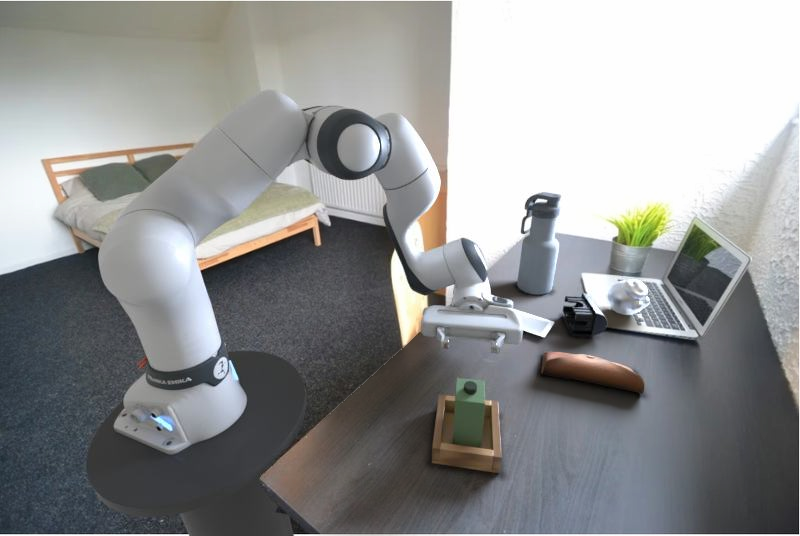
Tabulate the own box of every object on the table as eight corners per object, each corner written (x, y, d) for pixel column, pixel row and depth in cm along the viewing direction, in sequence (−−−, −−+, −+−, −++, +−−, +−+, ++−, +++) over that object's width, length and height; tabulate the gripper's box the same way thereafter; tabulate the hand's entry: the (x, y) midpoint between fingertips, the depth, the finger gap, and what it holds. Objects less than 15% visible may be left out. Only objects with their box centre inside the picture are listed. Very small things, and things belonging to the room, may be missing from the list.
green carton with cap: (452, 446, 61) (455, 395, 56) (454, 422, 66) (456, 372, 61) (480, 450, 60) (485, 398, 56) (480, 425, 65) (485, 376, 60)
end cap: (604, 339, 87) (610, 314, 84) (572, 337, 88) (577, 312, 85) (589, 315, 96) (595, 292, 93) (561, 314, 97) (565, 291, 94)
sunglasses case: (633, 367, 77) (644, 354, 72) (635, 400, 74) (647, 390, 68) (541, 351, 83) (545, 338, 77) (539, 381, 79) (542, 371, 74)
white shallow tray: (497, 307, 101) (498, 300, 100) (554, 325, 92) (555, 318, 91) (484, 320, 95) (485, 313, 94) (543, 341, 87) (545, 333, 86)
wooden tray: (431, 463, 59) (432, 447, 57) (438, 408, 69) (439, 394, 68) (499, 473, 57) (501, 457, 56) (496, 415, 67) (498, 401, 66)
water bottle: (509, 287, 111) (520, 194, 99) (526, 276, 117) (539, 188, 105) (540, 299, 104) (556, 201, 92) (557, 287, 110) (574, 194, 98)
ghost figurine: (610, 321, 93) (619, 286, 89) (599, 302, 102) (607, 269, 98) (650, 324, 92) (661, 288, 88) (635, 305, 100) (644, 271, 96)
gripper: (424, 293, 83) (414, 329, 71) (520, 301, 79) (527, 339, 67) (424, 318, 85) (415, 355, 73) (516, 325, 82) (523, 367, 70)
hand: (469, 348), depth 70 cm, fingers open, 8 cm apart
